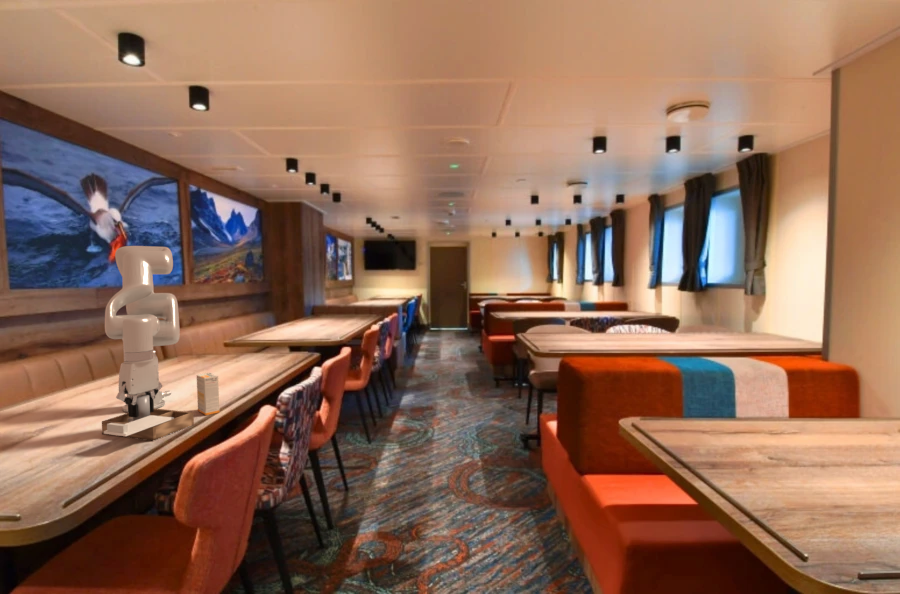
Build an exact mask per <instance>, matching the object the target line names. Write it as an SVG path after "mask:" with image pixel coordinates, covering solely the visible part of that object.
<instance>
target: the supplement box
mask: <svg viewBox="0 0 900 594" xmlns="http://www.w3.org/2000/svg"><path fill="white" fill-rule="evenodd" d="M219 386H220V385H219V375H216V374H215V373H212V372H207V373H206V372H205V373H200V374H196V391H197V392H196V393H197V396H196V397H197V412H200V413H201V414H203V415H204V416H210V415H215V414H217V413H218V414H219V413H220V390H219V389H220V388H219Z"/></svg>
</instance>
